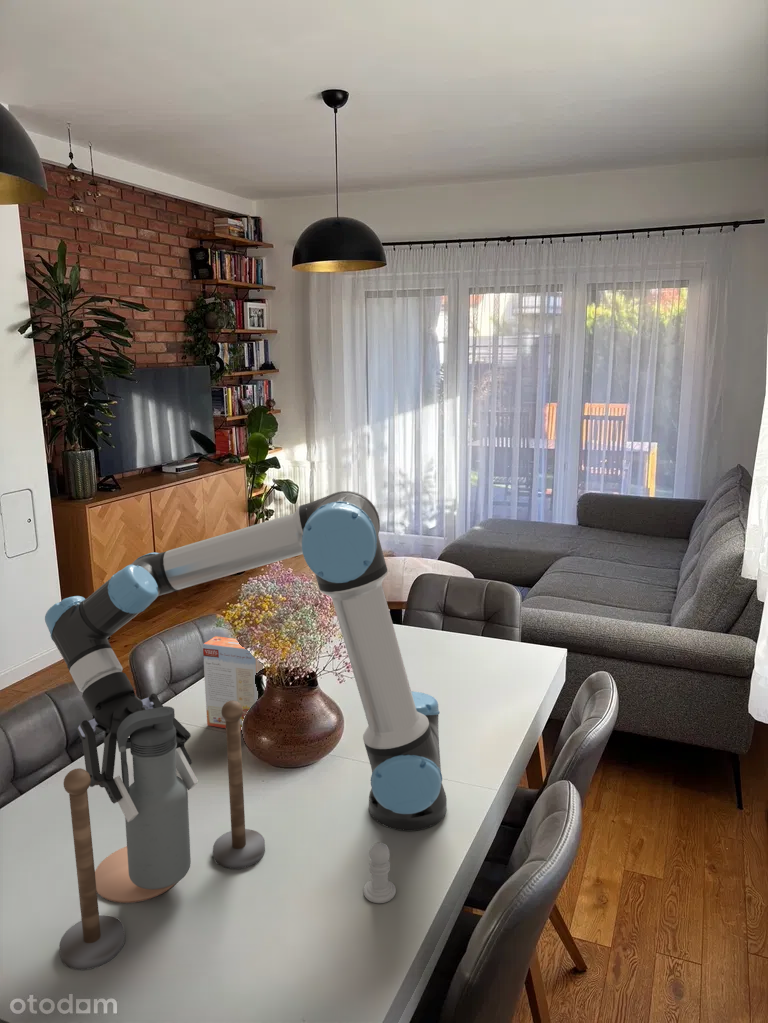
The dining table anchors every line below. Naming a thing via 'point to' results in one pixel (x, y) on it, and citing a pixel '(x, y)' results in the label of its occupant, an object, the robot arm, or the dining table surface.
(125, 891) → the glossy peach dome
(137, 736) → the water bottle
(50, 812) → the dining table surface
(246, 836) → the walnut post
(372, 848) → the chess piece
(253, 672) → the cracker box
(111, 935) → the walnut post
